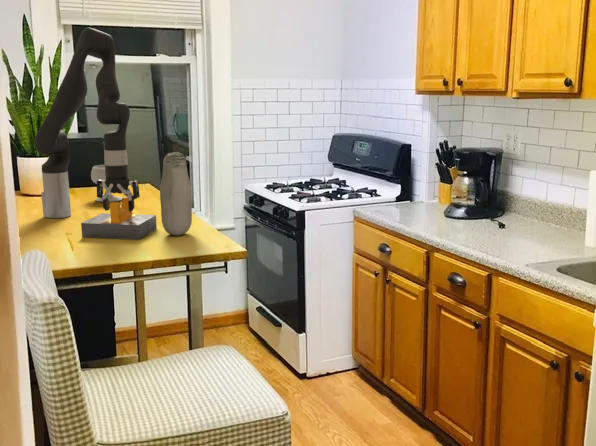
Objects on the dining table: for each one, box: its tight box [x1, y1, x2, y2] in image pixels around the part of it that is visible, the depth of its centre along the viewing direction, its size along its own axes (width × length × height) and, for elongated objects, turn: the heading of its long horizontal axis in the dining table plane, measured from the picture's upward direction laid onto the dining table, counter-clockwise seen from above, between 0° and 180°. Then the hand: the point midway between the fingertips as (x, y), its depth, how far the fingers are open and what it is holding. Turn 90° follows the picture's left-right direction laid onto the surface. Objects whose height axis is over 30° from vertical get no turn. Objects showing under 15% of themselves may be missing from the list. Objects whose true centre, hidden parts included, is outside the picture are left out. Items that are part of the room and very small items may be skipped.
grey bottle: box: [159, 151, 193, 236], centre depth 216 cm, size 10×10×28 cm
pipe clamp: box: [109, 196, 133, 222], centre depth 219 cm, size 12×4×6 cm, turn 172°
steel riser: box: [80, 212, 158, 241], centre depth 220 cm, size 20×16×5 cm
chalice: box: [90, 164, 123, 203], centre depth 279 cm, size 14×14×15 cm
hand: (119, 210), depth 219 cm, fingers open, 8 cm apart
